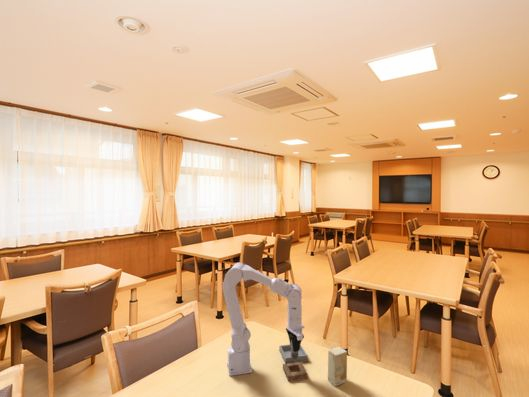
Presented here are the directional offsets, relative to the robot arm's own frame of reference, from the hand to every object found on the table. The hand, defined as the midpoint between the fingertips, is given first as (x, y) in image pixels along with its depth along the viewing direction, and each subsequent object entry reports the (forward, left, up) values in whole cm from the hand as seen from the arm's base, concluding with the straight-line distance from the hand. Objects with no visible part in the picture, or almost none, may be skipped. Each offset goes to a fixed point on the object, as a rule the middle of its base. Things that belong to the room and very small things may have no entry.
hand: (294, 348), depth 116 cm
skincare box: (+15, -8, -11) cm, 20 cm away
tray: (+3, +12, -10) cm, 16 cm away
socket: (0, 0, -10) cm, 10 cm away
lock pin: (0, 0, -3) cm, 3 cm away
